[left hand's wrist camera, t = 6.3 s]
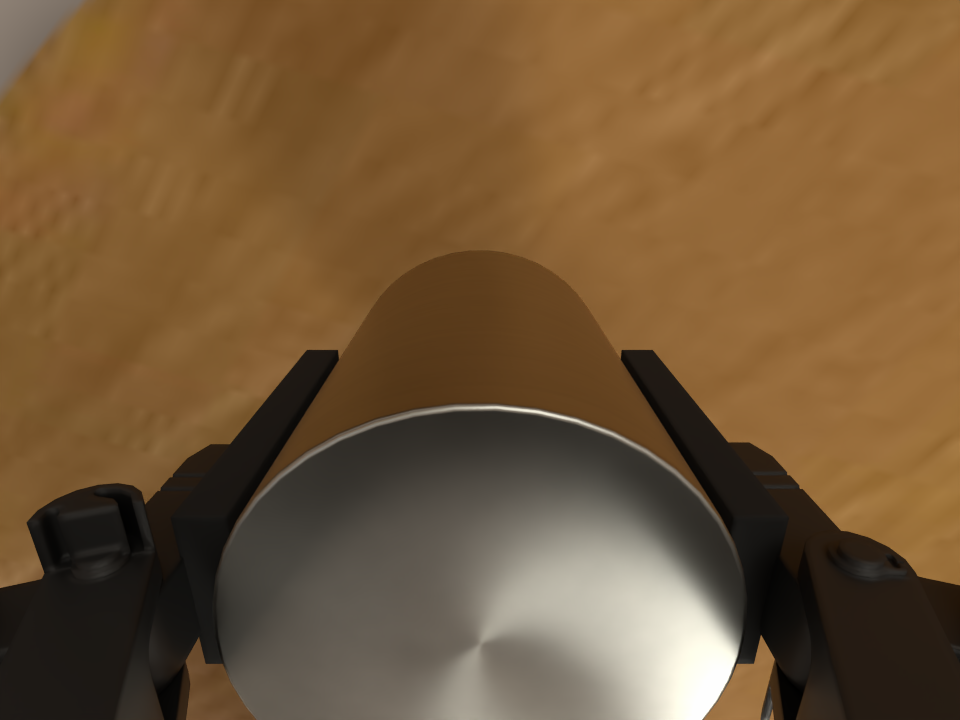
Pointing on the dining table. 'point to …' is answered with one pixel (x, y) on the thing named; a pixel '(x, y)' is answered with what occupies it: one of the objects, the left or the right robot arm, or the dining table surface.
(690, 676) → the can
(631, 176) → the dining table surface
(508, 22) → the dining table surface
